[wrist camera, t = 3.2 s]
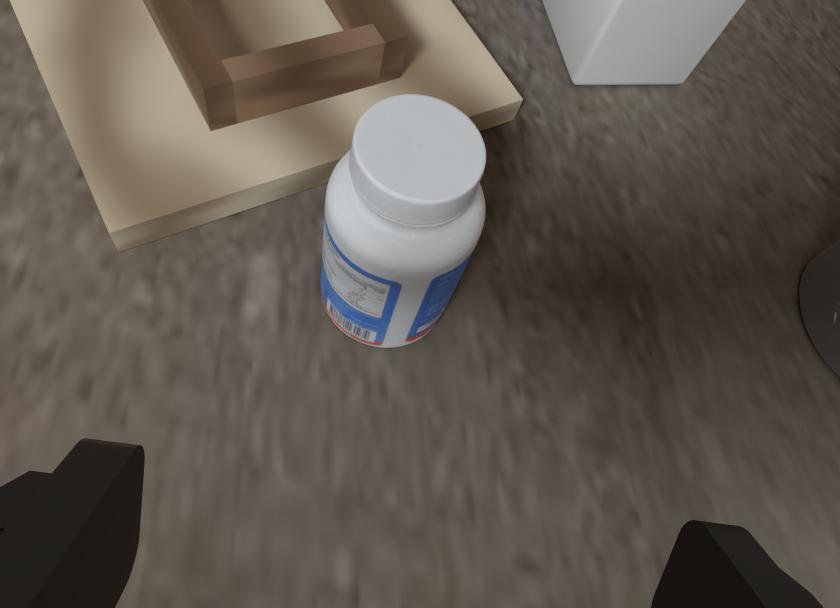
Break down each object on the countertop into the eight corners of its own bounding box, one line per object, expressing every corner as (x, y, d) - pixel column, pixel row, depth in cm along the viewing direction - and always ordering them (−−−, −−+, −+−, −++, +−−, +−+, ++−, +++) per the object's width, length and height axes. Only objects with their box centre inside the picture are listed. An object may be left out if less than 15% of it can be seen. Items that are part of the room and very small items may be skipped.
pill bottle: (430, 234, 28) (491, 74, 20) (455, 343, 26) (536, 217, 18) (309, 242, 27) (319, 75, 18) (326, 358, 25) (345, 230, 16)
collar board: (372, -79, 37) (380, -150, 34) (513, 120, 32) (541, 61, 29) (4, -14, 30) (-34, -97, 26) (118, 252, 25) (90, 195, 22)
